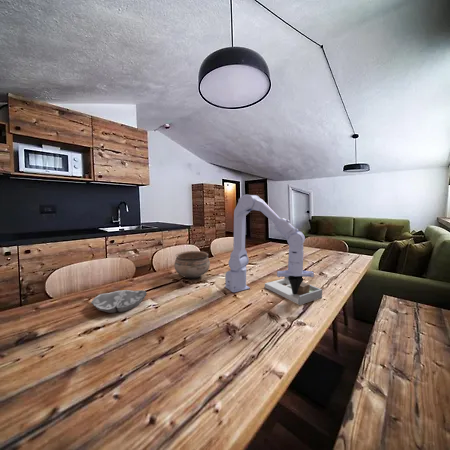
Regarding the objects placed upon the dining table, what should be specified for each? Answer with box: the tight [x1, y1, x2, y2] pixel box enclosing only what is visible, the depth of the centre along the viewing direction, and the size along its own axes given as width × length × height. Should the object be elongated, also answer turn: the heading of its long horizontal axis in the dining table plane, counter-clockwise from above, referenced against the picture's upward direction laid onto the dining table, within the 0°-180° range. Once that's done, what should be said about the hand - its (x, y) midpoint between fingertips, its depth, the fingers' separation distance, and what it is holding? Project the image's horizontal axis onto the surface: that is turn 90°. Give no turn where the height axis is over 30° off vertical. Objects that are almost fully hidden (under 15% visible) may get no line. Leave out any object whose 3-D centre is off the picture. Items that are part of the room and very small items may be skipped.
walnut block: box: [297, 281, 311, 295], centre depth 92 cm, size 4×4×4 cm
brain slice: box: [90, 289, 147, 314], centre depth 85 cm, size 20×17×3 cm
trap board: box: [264, 277, 323, 306], centre depth 98 cm, size 14×21×4 cm, turn 31°
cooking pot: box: [173, 250, 211, 280], centre depth 117 cm, size 25×19×12 cm
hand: (294, 293), depth 90 cm, fingers closed
